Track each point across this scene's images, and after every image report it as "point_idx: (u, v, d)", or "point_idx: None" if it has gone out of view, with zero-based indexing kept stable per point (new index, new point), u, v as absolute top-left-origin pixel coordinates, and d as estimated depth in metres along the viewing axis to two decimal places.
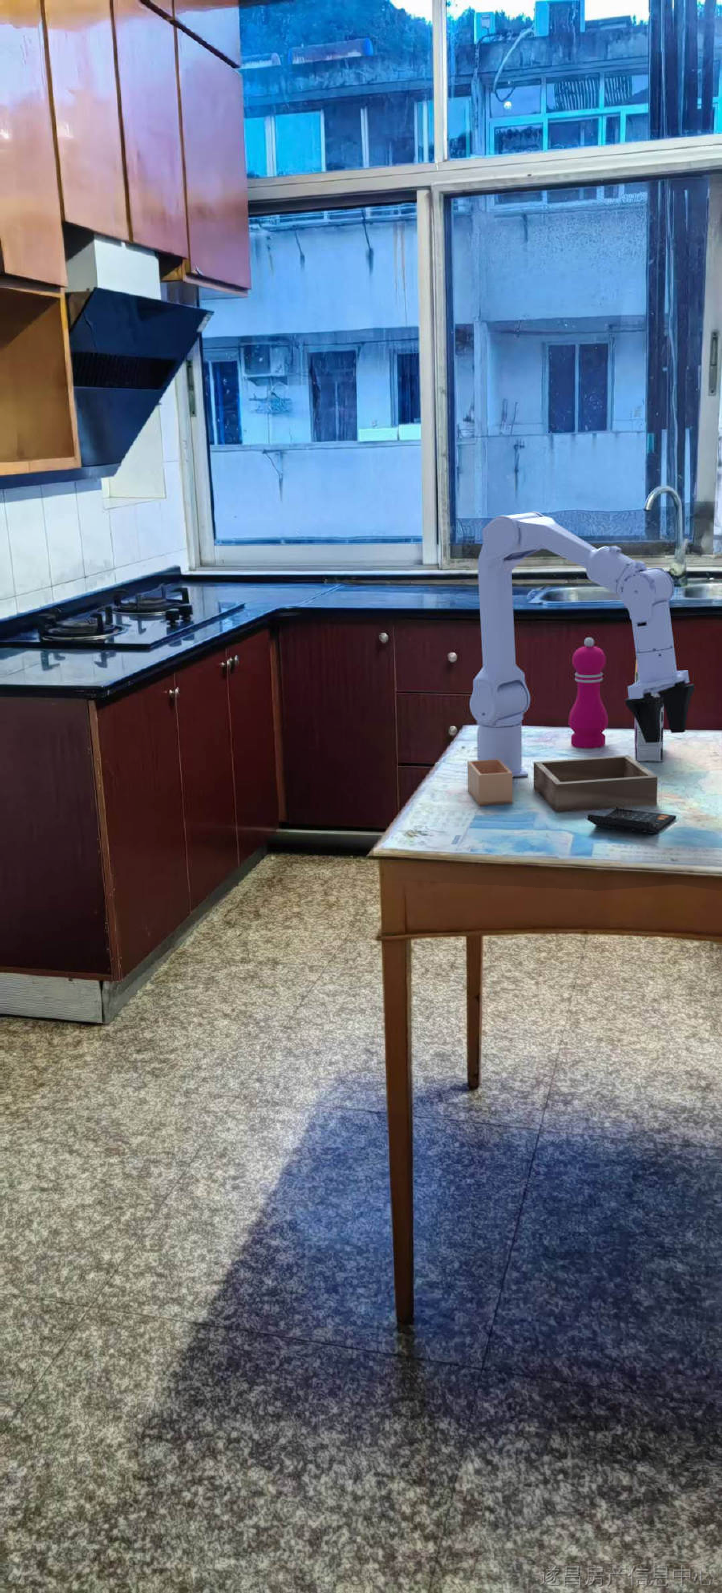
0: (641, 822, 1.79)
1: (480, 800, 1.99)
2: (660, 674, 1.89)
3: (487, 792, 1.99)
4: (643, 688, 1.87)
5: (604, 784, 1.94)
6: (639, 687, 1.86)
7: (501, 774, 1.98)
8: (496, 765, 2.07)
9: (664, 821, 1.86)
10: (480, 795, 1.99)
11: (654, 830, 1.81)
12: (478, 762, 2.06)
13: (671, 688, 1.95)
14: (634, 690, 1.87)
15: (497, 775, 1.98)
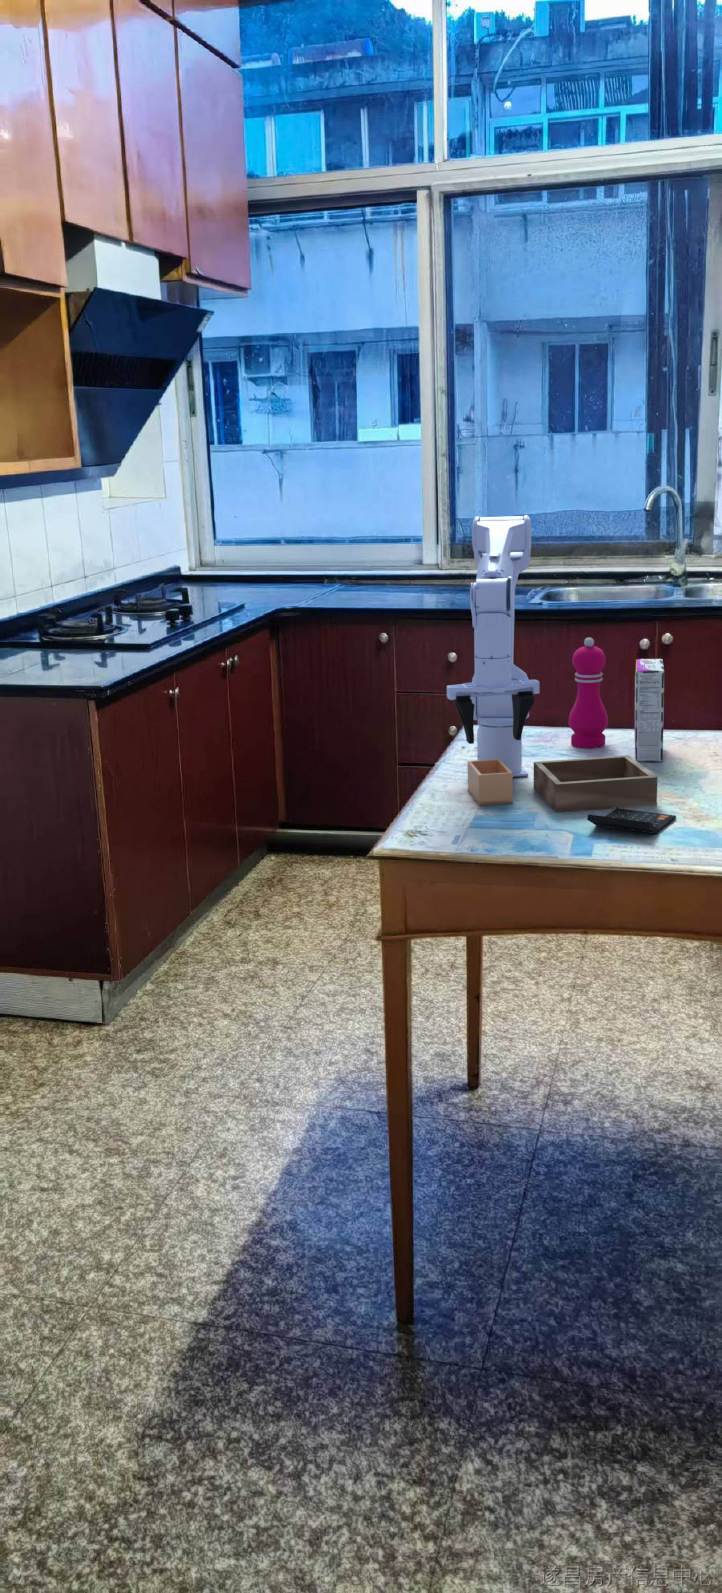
0: (641, 822, 1.79)
1: (480, 800, 1.99)
2: (482, 681, 1.95)
3: (487, 792, 1.99)
4: (456, 691, 1.96)
5: (604, 784, 1.94)
6: (450, 689, 1.96)
7: (501, 774, 1.98)
8: (496, 765, 2.07)
9: (664, 821, 1.86)
10: (480, 795, 1.99)
11: (654, 830, 1.81)
12: (478, 762, 2.06)
13: (516, 695, 1.99)
14: (448, 691, 1.97)
15: (497, 775, 1.98)
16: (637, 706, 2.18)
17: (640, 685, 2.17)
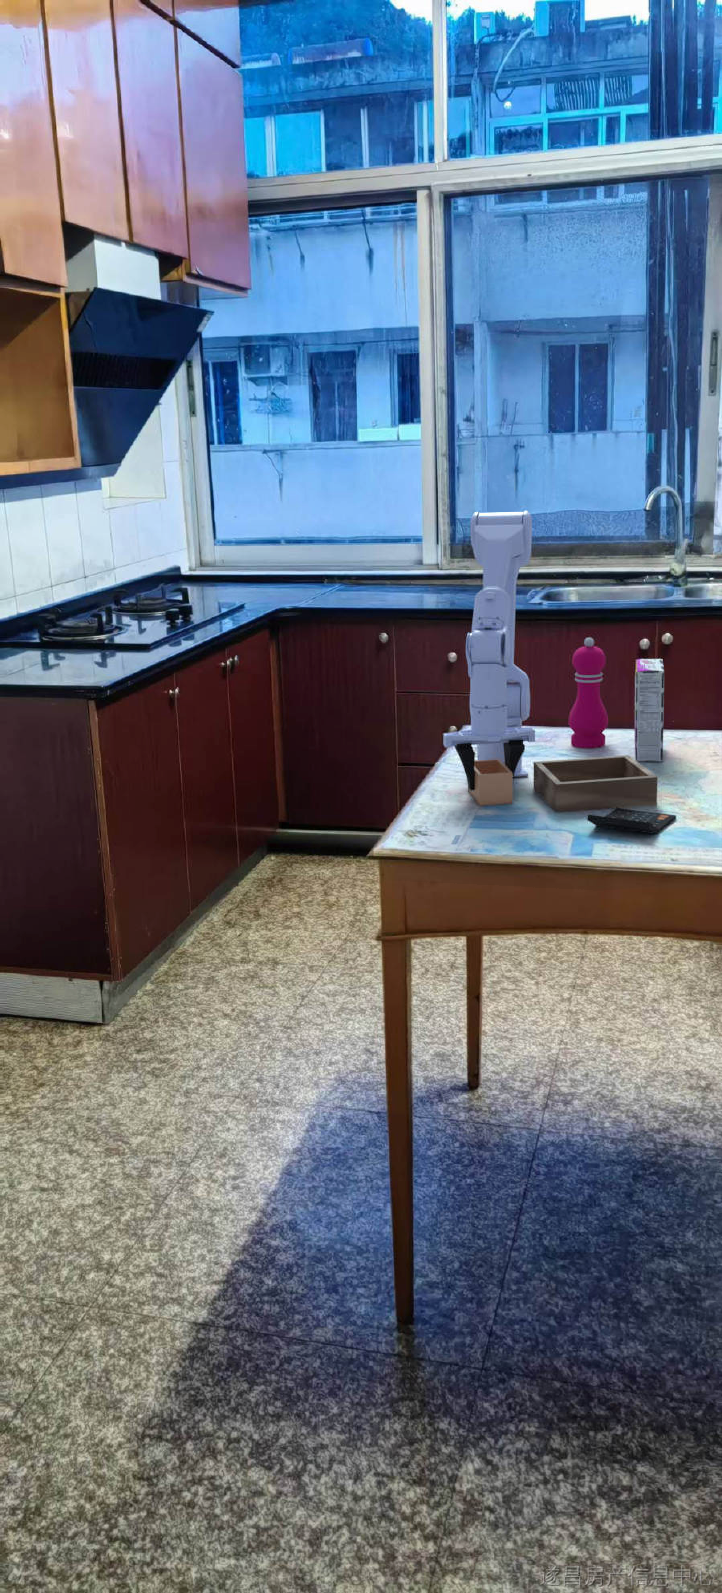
0: (641, 822, 1.79)
1: (480, 800, 1.99)
2: (477, 730, 1.98)
3: (487, 792, 1.99)
4: (452, 739, 1.99)
5: (604, 784, 1.94)
6: (446, 737, 1.99)
7: (501, 774, 1.98)
8: (496, 765, 2.07)
9: (664, 821, 1.86)
10: (480, 795, 1.99)
11: (654, 830, 1.81)
12: (478, 762, 2.06)
13: (507, 743, 2.02)
14: (444, 738, 2.00)
15: (497, 775, 1.98)
16: (637, 706, 2.18)
17: (640, 685, 2.17)
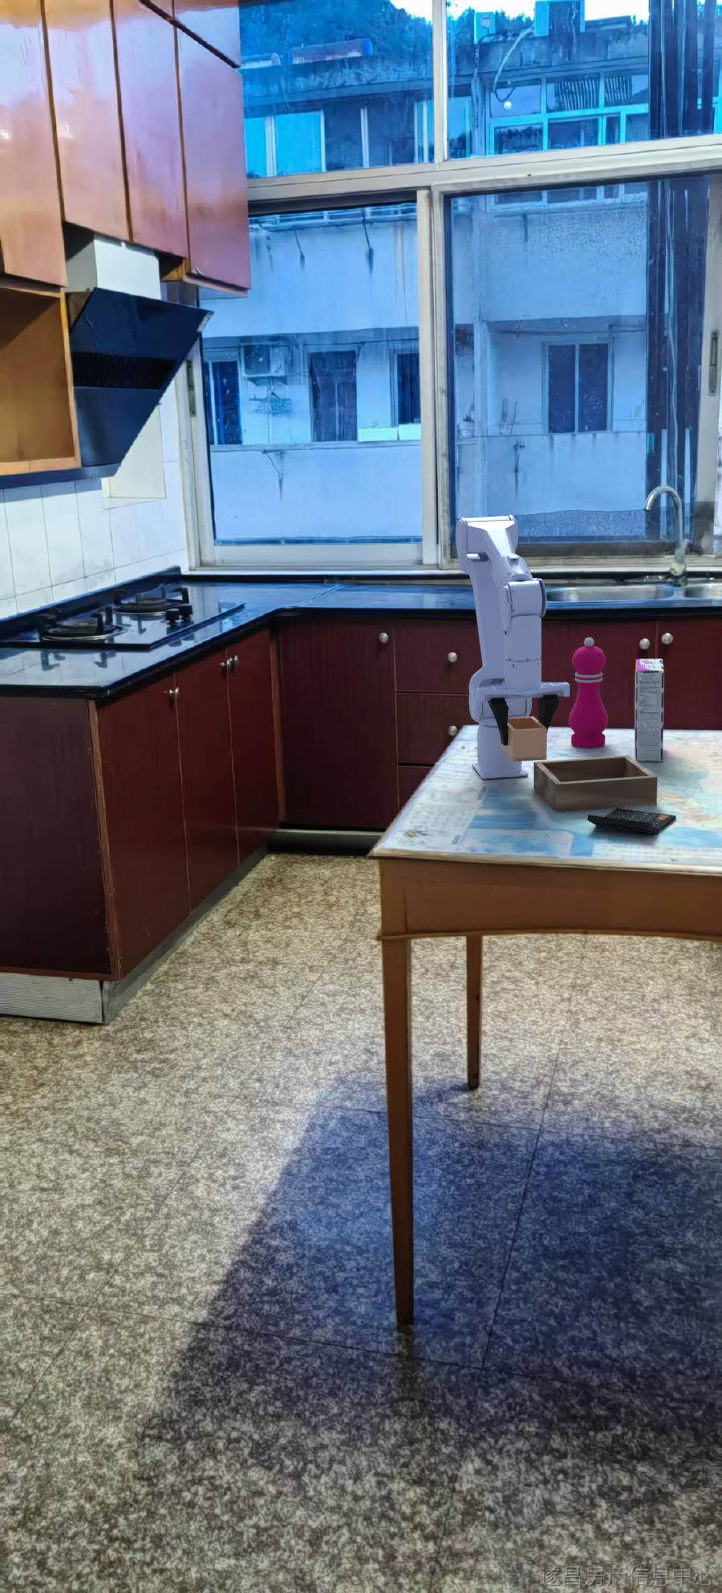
0: (641, 822, 1.79)
1: (513, 756, 1.96)
2: (511, 684, 1.96)
3: (521, 748, 1.96)
4: (485, 693, 1.96)
5: (604, 784, 1.94)
6: (479, 691, 1.96)
7: (535, 730, 1.95)
8: (530, 723, 2.04)
9: (663, 821, 1.86)
10: (513, 751, 1.96)
11: (654, 830, 1.81)
12: (511, 719, 2.03)
13: (541, 698, 1.99)
14: (477, 693, 1.97)
15: (531, 731, 1.95)
16: (637, 706, 2.18)
17: (640, 685, 2.17)
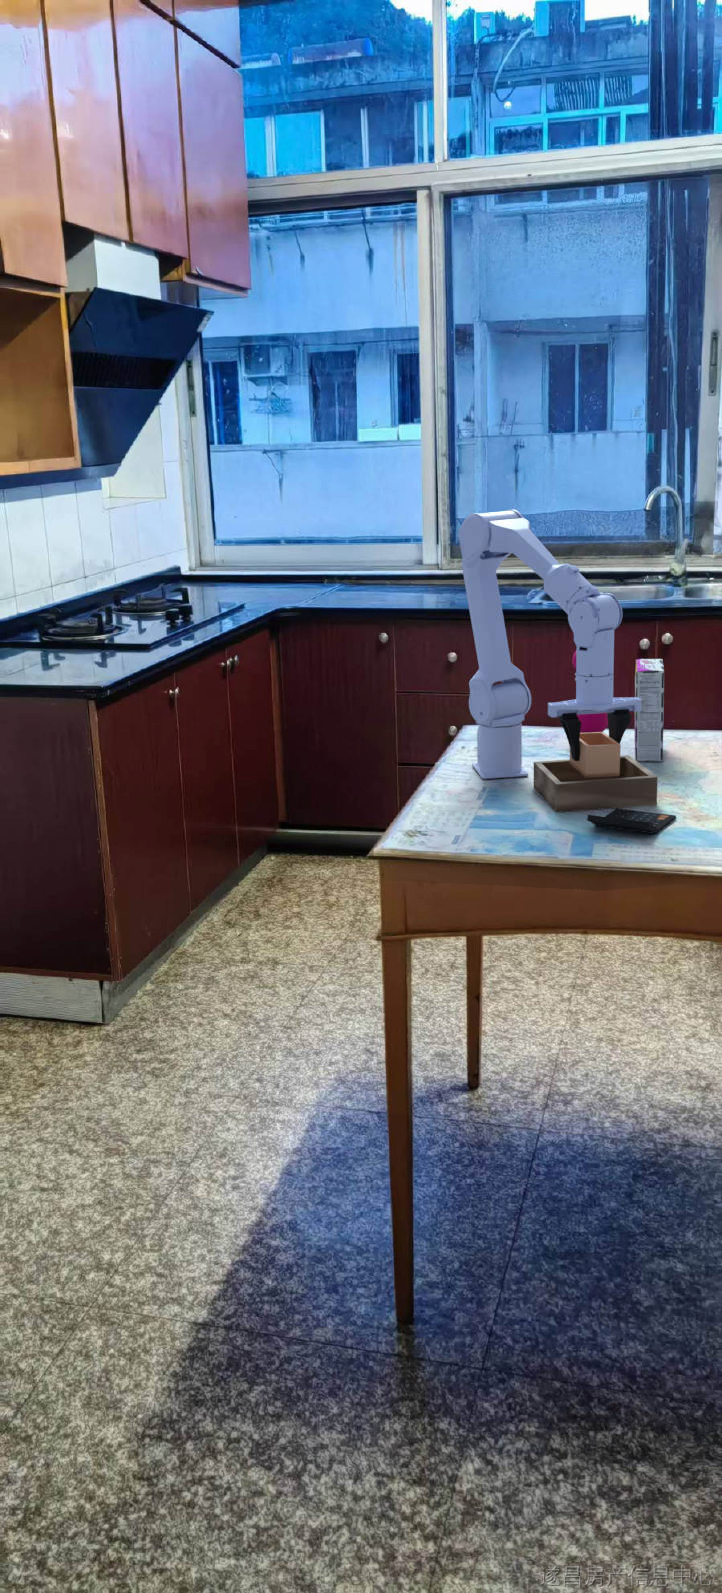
0: (641, 822, 1.79)
1: (586, 772, 1.95)
2: (584, 699, 1.95)
3: (594, 764, 1.95)
4: (557, 708, 1.96)
5: (604, 784, 1.94)
6: (552, 707, 1.96)
7: (609, 746, 1.95)
8: (599, 738, 2.03)
9: (664, 821, 1.86)
10: (587, 767, 1.95)
11: (654, 830, 1.81)
12: (581, 734, 2.02)
13: (612, 713, 1.98)
14: (549, 708, 1.96)
15: (605, 747, 1.94)
16: None
17: (640, 685, 2.17)
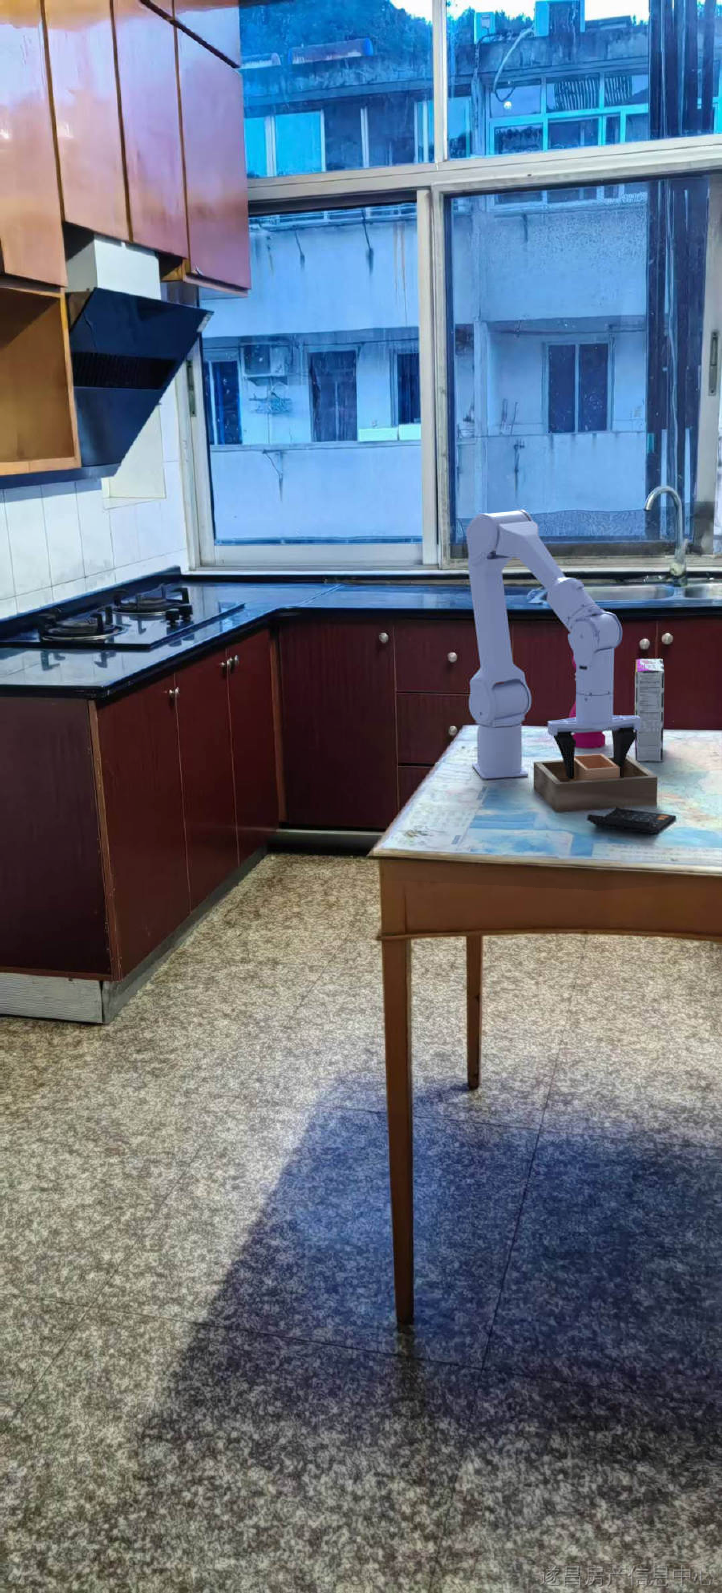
0: (641, 822, 1.79)
1: None
2: (584, 718, 1.96)
3: None
4: (557, 727, 1.96)
5: (604, 784, 1.94)
6: (551, 725, 1.96)
7: (608, 769, 1.96)
8: (599, 760, 2.04)
9: (664, 821, 1.86)
10: None
11: (654, 830, 1.81)
12: (581, 757, 2.03)
13: (616, 731, 1.99)
14: (549, 726, 1.97)
15: (604, 770, 1.96)
16: (637, 706, 2.18)
17: (640, 685, 2.17)
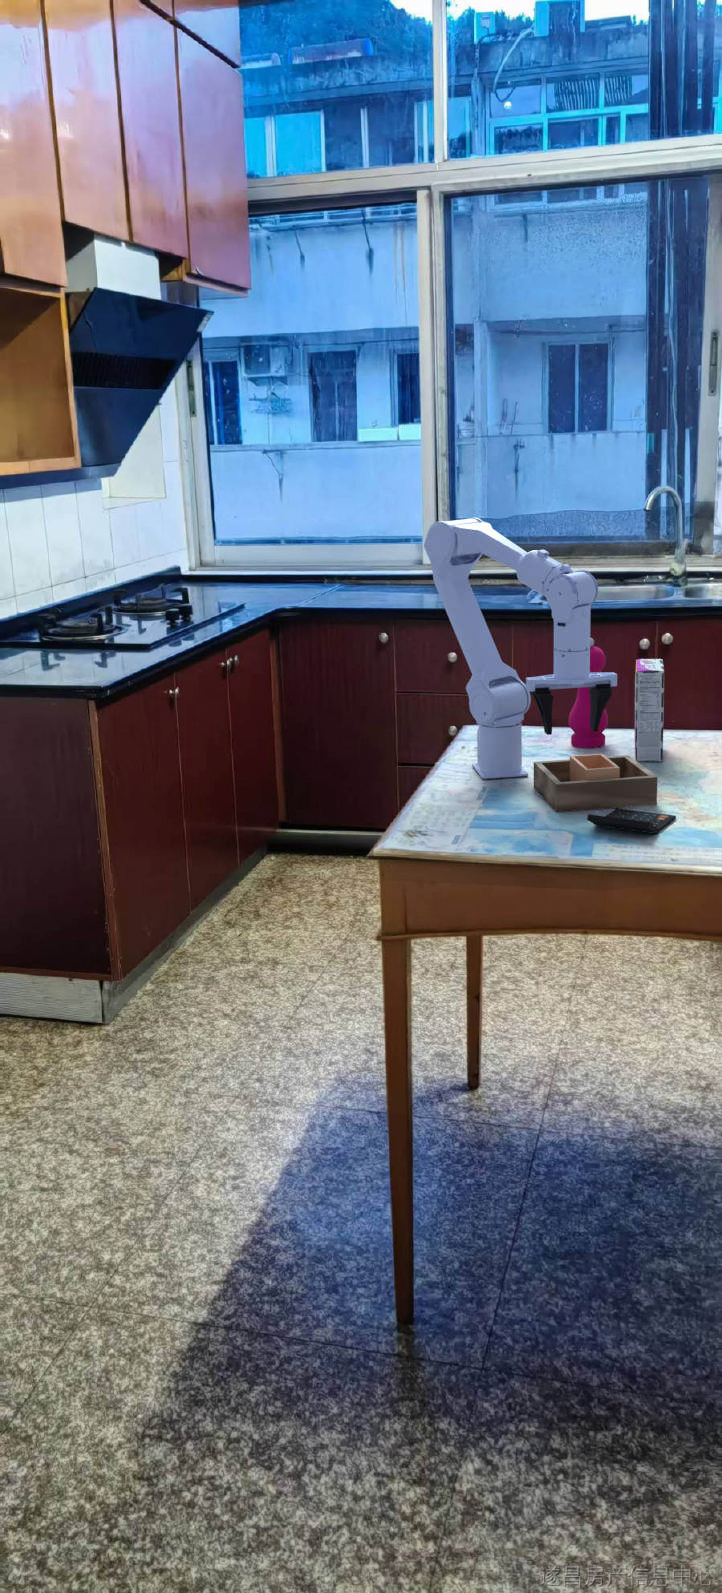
0: (641, 822, 1.79)
1: None
2: (561, 674, 2.00)
3: None
4: (535, 683, 2.00)
5: (604, 784, 1.94)
6: (529, 681, 2.00)
7: (608, 769, 1.96)
8: (599, 760, 2.04)
9: (664, 821, 1.86)
10: None
11: (654, 830, 1.81)
12: (581, 757, 2.03)
13: (593, 687, 2.03)
14: (527, 682, 2.01)
15: (604, 770, 1.96)
16: (637, 706, 2.18)
17: (640, 685, 2.17)
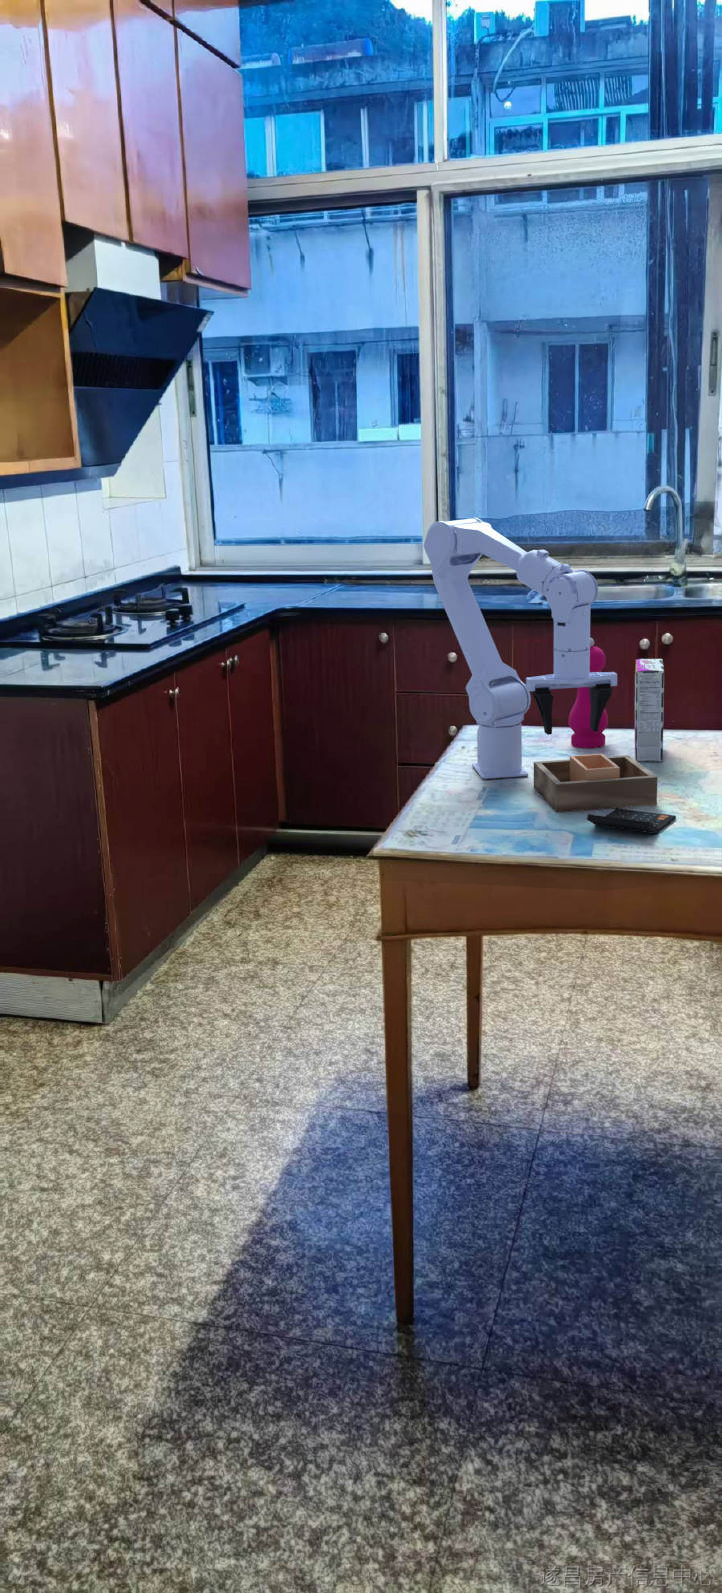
0: (641, 822, 1.79)
1: None
2: (561, 674, 2.00)
3: None
4: (535, 683, 2.00)
5: (604, 784, 1.94)
6: (529, 681, 2.00)
7: (608, 769, 1.96)
8: (599, 760, 2.04)
9: (663, 821, 1.86)
10: None
11: (654, 830, 1.81)
12: (581, 757, 2.03)
13: (593, 687, 2.03)
14: (527, 682, 2.01)
15: (604, 770, 1.96)
16: (637, 706, 2.18)
17: (640, 685, 2.17)
